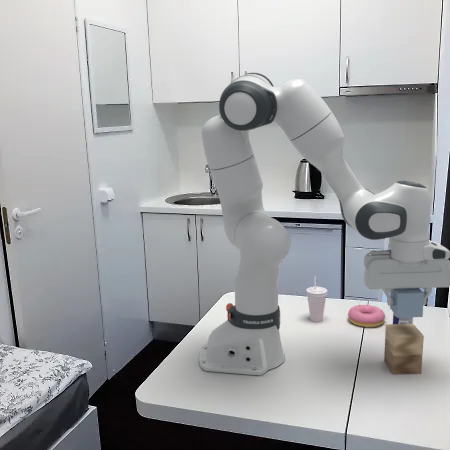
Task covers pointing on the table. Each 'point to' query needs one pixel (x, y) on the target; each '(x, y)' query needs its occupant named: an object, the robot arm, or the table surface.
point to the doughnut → (366, 315)
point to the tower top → (404, 339)
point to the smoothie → (316, 302)
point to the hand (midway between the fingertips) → (406, 304)
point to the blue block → (407, 302)
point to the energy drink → (402, 320)
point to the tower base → (403, 363)
